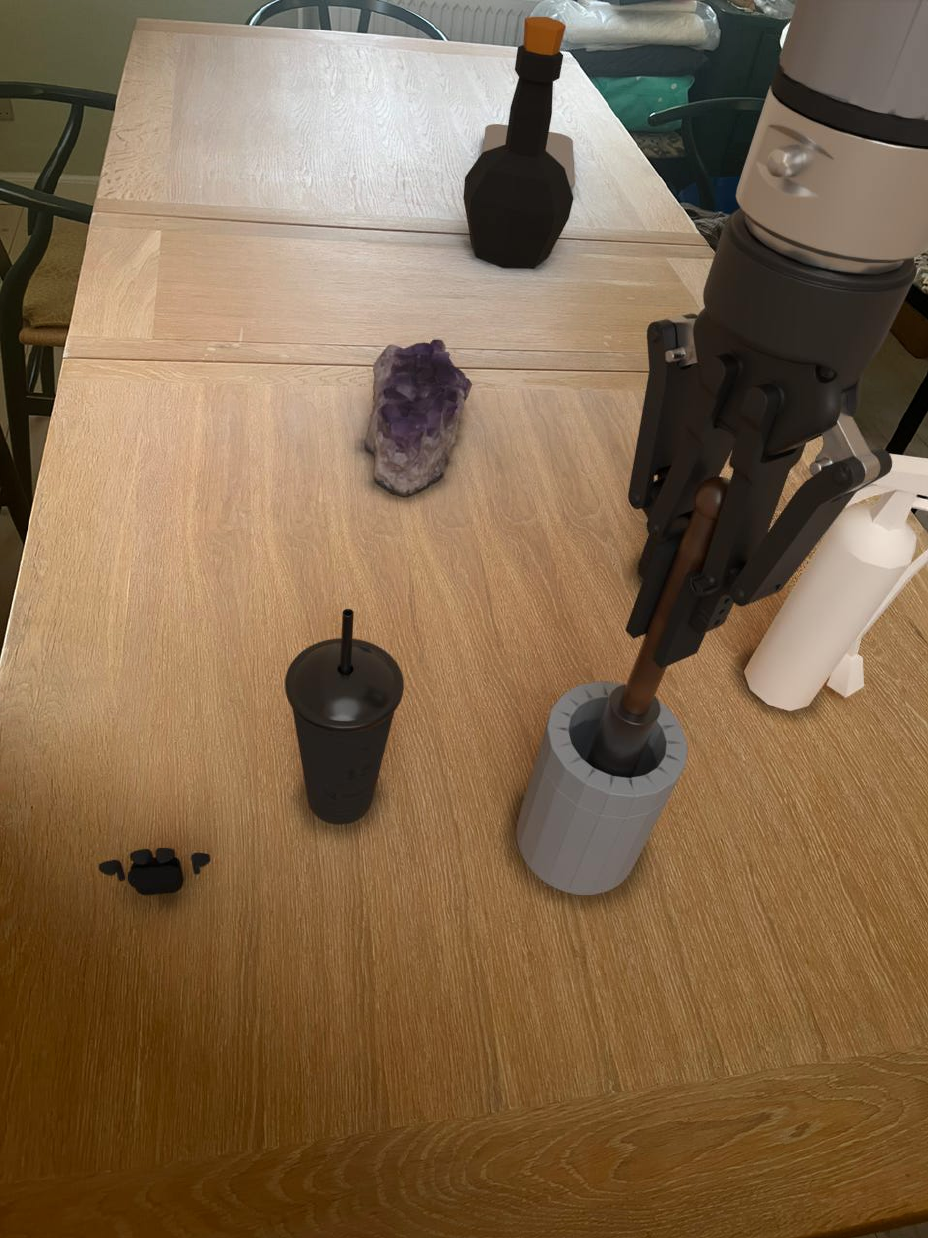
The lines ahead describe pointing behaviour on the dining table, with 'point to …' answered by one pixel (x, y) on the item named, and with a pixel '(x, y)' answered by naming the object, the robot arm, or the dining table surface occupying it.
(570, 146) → the tablet
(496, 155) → the bottle
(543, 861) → the gray cylindrical holder
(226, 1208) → the dining table surface
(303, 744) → the drinking cup
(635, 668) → the brush
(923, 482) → the fire extinguisher
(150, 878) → the wireless earbuds
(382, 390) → the geode
